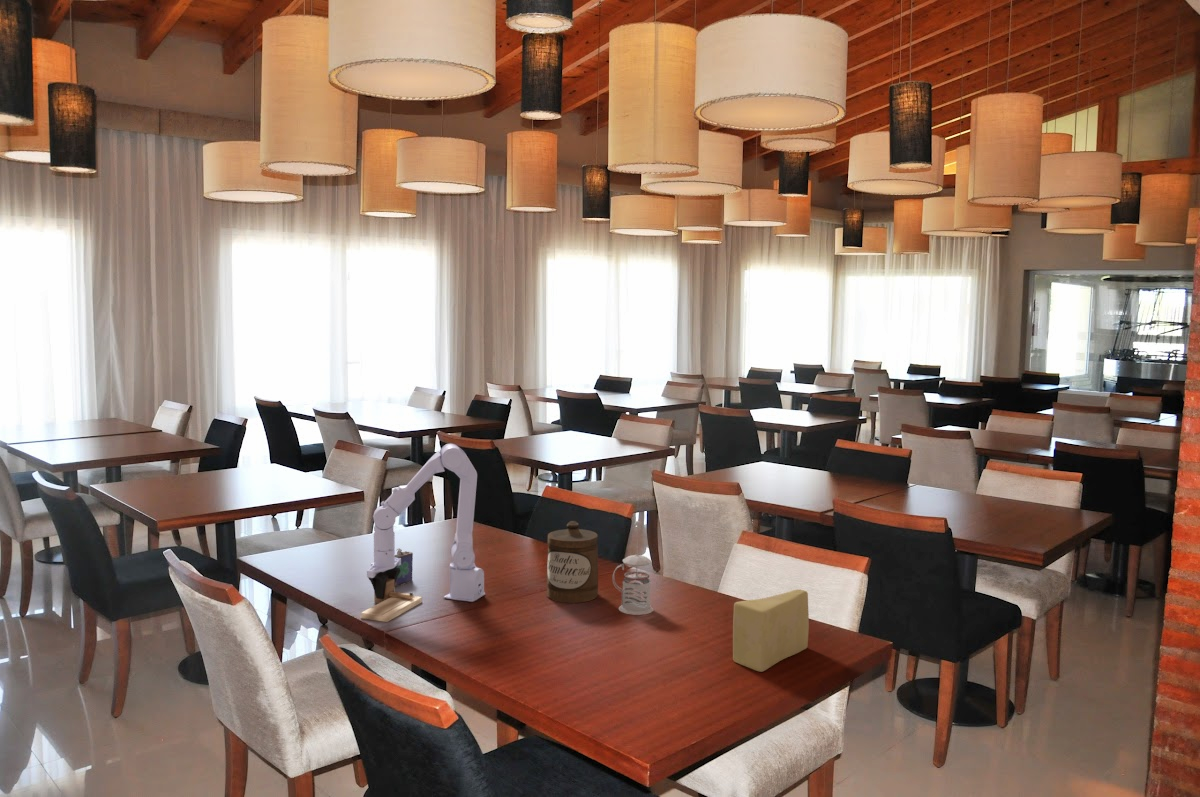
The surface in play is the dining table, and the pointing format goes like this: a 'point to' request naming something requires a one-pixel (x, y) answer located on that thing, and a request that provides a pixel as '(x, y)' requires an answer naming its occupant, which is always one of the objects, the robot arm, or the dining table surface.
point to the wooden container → (572, 565)
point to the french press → (635, 585)
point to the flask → (404, 567)
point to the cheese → (770, 629)
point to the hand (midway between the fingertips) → (384, 596)
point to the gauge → (392, 592)
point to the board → (390, 608)
